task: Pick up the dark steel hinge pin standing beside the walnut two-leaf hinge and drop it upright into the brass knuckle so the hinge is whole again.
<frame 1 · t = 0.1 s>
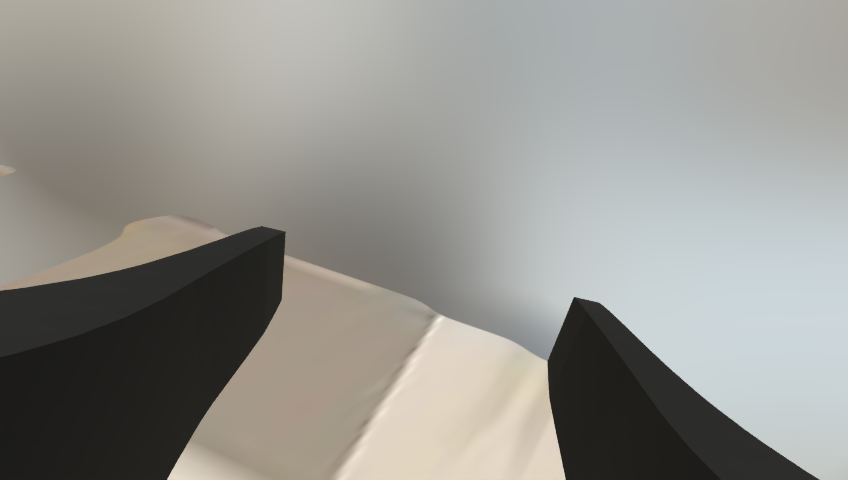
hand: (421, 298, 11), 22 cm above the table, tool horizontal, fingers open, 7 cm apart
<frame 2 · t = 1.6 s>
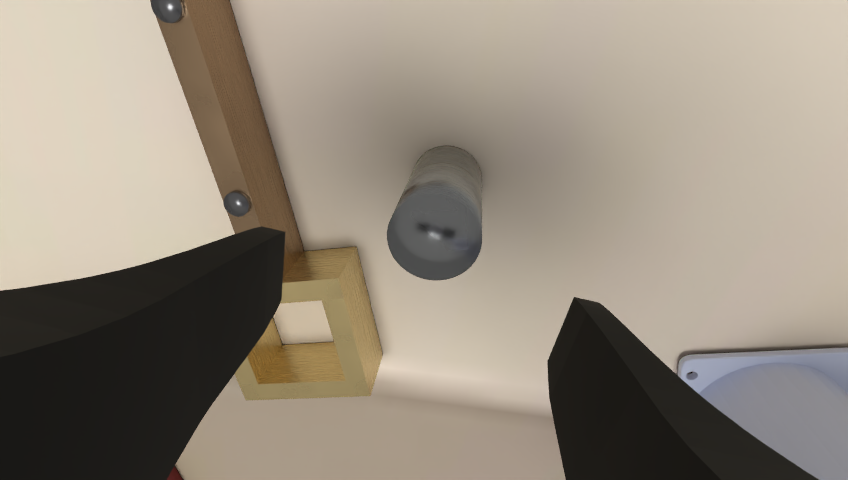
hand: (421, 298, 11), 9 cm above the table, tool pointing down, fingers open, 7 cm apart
hinge: (310, 308, 23), on the table
hinge pin: (447, 179, 20), on the table
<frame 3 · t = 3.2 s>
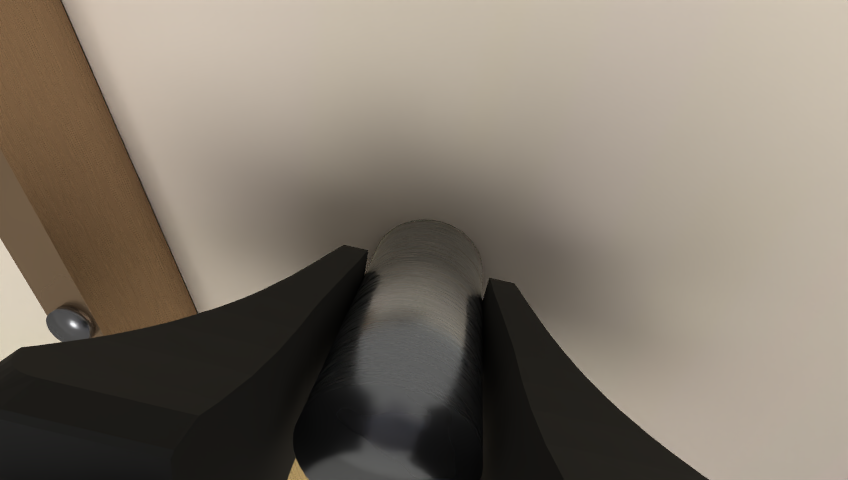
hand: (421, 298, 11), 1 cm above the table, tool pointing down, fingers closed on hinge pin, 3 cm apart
hinge: (234, 433, 16), on the table
hinge pin: (427, 269, 12), on the table, touching gripper
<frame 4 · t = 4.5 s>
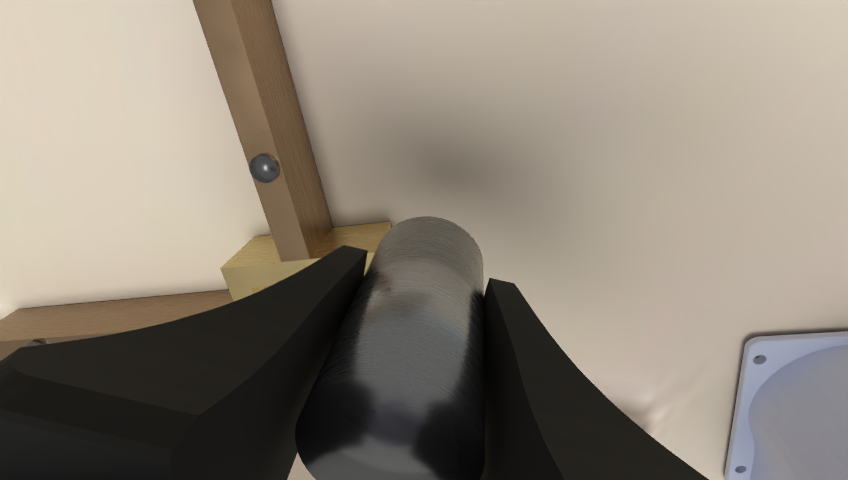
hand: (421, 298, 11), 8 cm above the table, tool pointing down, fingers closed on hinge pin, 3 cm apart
hinge: (338, 290, 22), on the table
hinge pin: (428, 266, 12), point 7 cm above the table, touching gripper
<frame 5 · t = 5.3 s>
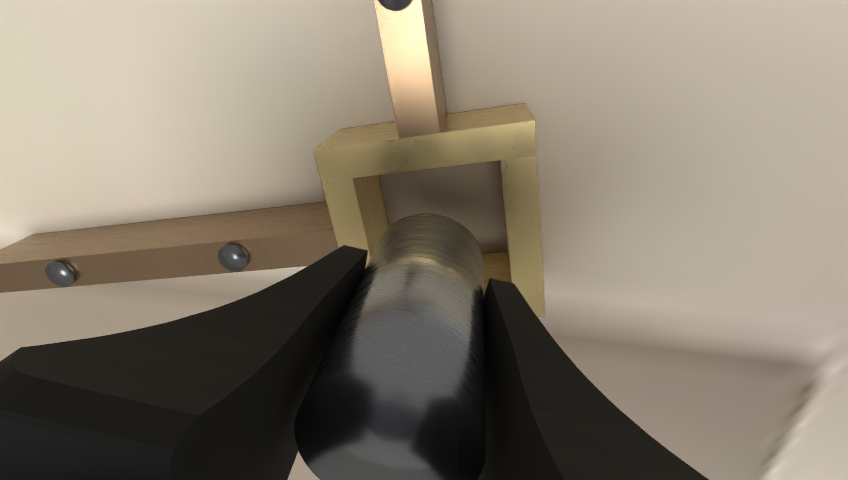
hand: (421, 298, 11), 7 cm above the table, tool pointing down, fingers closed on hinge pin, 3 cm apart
hinge: (442, 203, 17), on the table
hinge pin: (428, 264, 12), point 5 cm above the table, touching gripper
when the fingers open (5 cm above the table, at t = 5.9 s): hinge pin drops 3 cm, resting in hinge.
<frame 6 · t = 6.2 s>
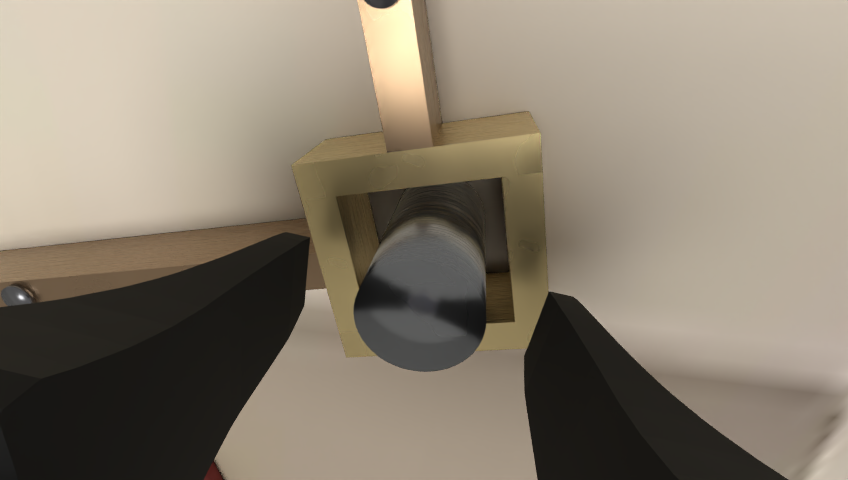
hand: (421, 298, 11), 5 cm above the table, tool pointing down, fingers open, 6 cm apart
hinge: (438, 220, 15), on the table
hinge pin: (440, 216, 15), resting in hinge
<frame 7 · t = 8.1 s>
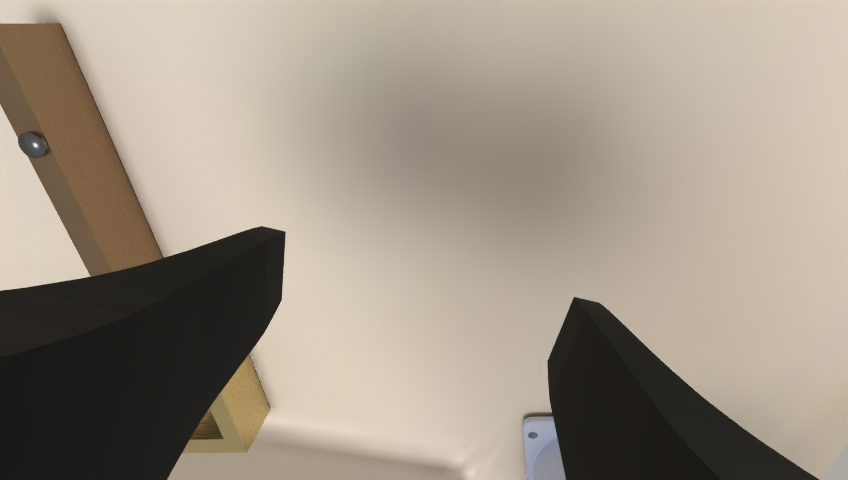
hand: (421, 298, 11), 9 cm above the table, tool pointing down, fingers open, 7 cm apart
hinge: (202, 369, 26), on the table
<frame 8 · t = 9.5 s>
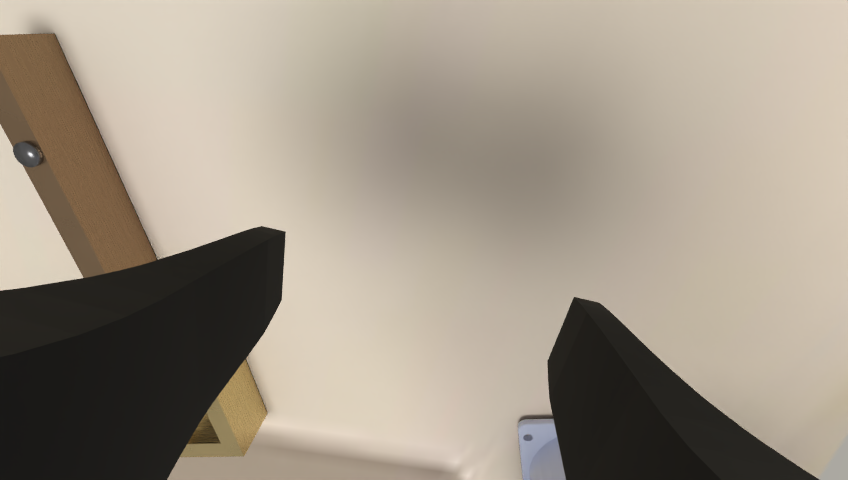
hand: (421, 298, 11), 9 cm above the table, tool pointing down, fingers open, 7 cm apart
hinge: (199, 374, 26), on the table
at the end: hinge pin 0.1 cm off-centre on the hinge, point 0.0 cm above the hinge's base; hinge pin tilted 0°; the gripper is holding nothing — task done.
